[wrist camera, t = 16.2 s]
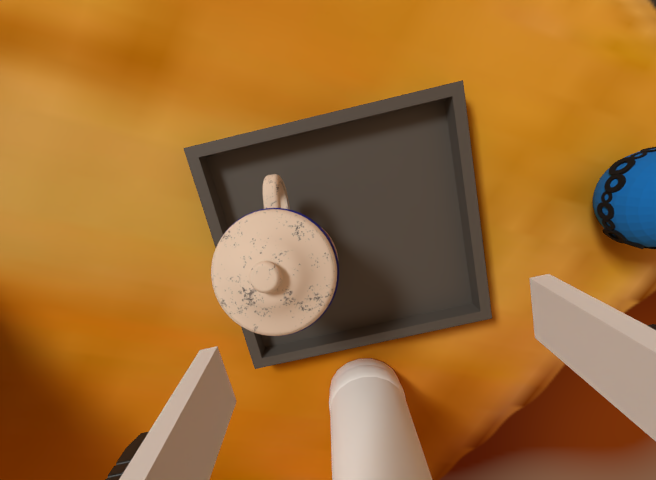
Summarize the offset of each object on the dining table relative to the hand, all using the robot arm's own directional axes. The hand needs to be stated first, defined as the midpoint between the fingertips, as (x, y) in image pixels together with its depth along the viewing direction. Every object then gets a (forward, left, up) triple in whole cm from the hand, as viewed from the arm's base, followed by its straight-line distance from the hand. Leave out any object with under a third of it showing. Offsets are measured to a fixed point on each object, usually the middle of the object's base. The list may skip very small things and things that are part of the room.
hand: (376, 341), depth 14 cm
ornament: (+26, -2, -20) cm, 33 cm away
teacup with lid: (-5, 0, -19) cm, 20 cm away
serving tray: (0, 0, -20) cm, 20 cm away
